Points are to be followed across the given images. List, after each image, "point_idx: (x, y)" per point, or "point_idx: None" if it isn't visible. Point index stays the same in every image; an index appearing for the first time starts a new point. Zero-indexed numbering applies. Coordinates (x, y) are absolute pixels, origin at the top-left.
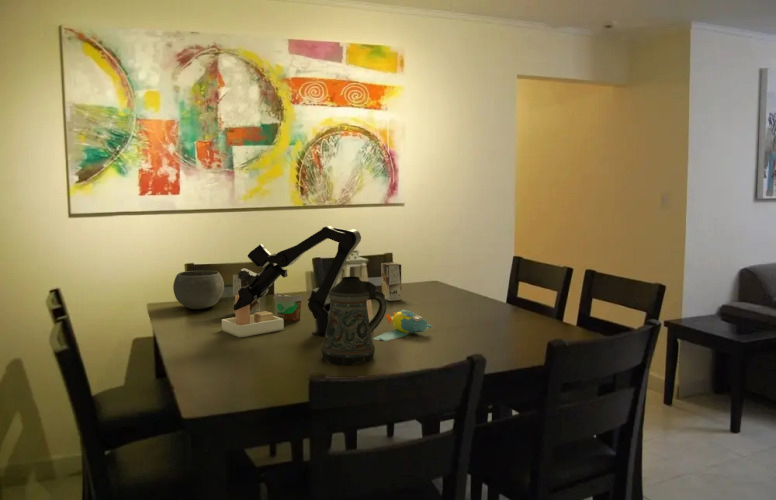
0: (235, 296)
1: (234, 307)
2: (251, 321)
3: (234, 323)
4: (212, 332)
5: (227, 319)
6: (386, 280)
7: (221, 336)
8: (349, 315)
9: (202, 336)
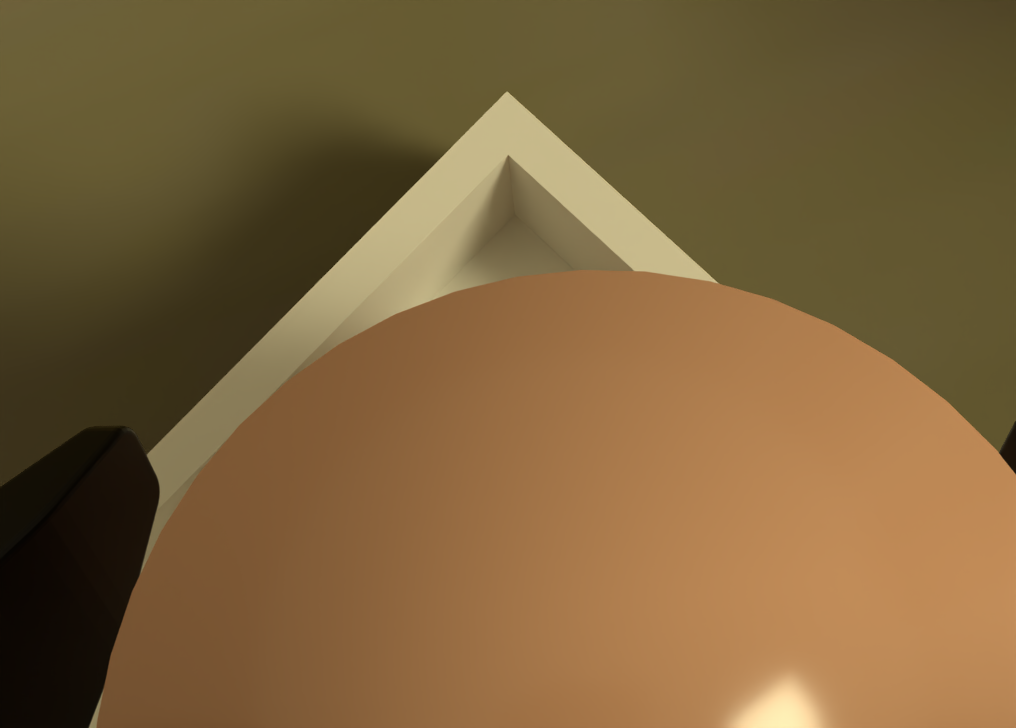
0: (324, 361)
1: (40, 487)
2: None
3: (171, 489)
4: (373, 81)
5: (555, 198)
6: None
7: (143, 309)
8: None
9: (129, 33)
